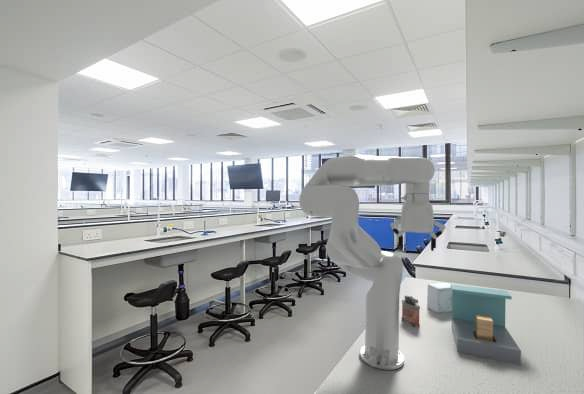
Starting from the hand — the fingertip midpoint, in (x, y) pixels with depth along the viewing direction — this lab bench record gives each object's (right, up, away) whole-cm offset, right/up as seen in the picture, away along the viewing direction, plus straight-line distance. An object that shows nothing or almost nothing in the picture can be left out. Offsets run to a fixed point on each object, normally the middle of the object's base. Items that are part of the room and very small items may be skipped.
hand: (416, 249), depth 98 cm
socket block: (+20, -31, -4) cm, 37 cm away
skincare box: (+22, -31, +26) cm, 46 cm away
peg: (+18, -31, -7) cm, 36 cm away
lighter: (+3, -31, +12) cm, 33 cm away
